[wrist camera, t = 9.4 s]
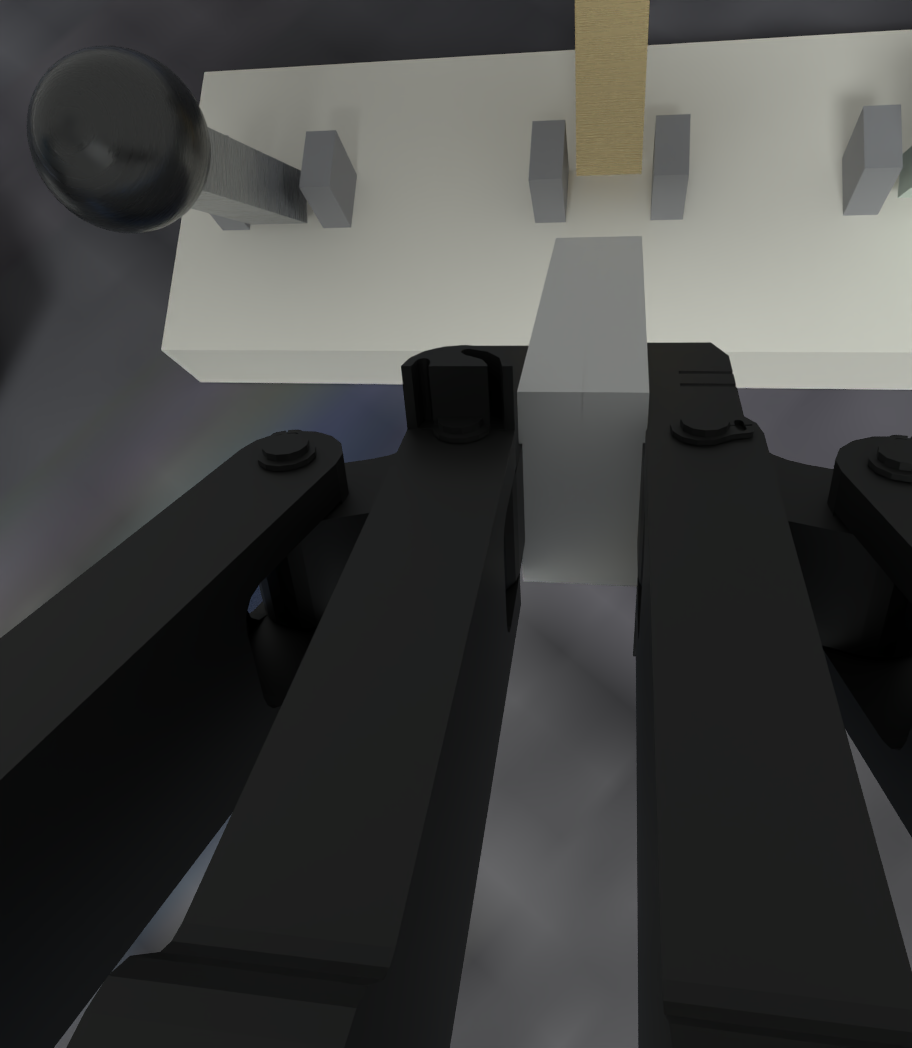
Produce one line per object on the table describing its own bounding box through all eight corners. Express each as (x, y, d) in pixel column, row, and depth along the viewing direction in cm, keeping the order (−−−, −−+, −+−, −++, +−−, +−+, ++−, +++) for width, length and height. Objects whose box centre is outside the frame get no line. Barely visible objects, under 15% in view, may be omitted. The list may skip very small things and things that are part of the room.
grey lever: (336, 259, 30) (164, 221, 18) (226, 261, 30) (-3, 225, 19) (332, 132, 29) (149, 13, 18) (219, 137, 29) (-26, 26, 18)
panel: (1085, 391, 27) (1197, 315, 22) (200, 382, 33) (123, 319, 28) (1063, 85, 30) (1160, -49, 24) (237, 125, 35) (173, 22, 30)
